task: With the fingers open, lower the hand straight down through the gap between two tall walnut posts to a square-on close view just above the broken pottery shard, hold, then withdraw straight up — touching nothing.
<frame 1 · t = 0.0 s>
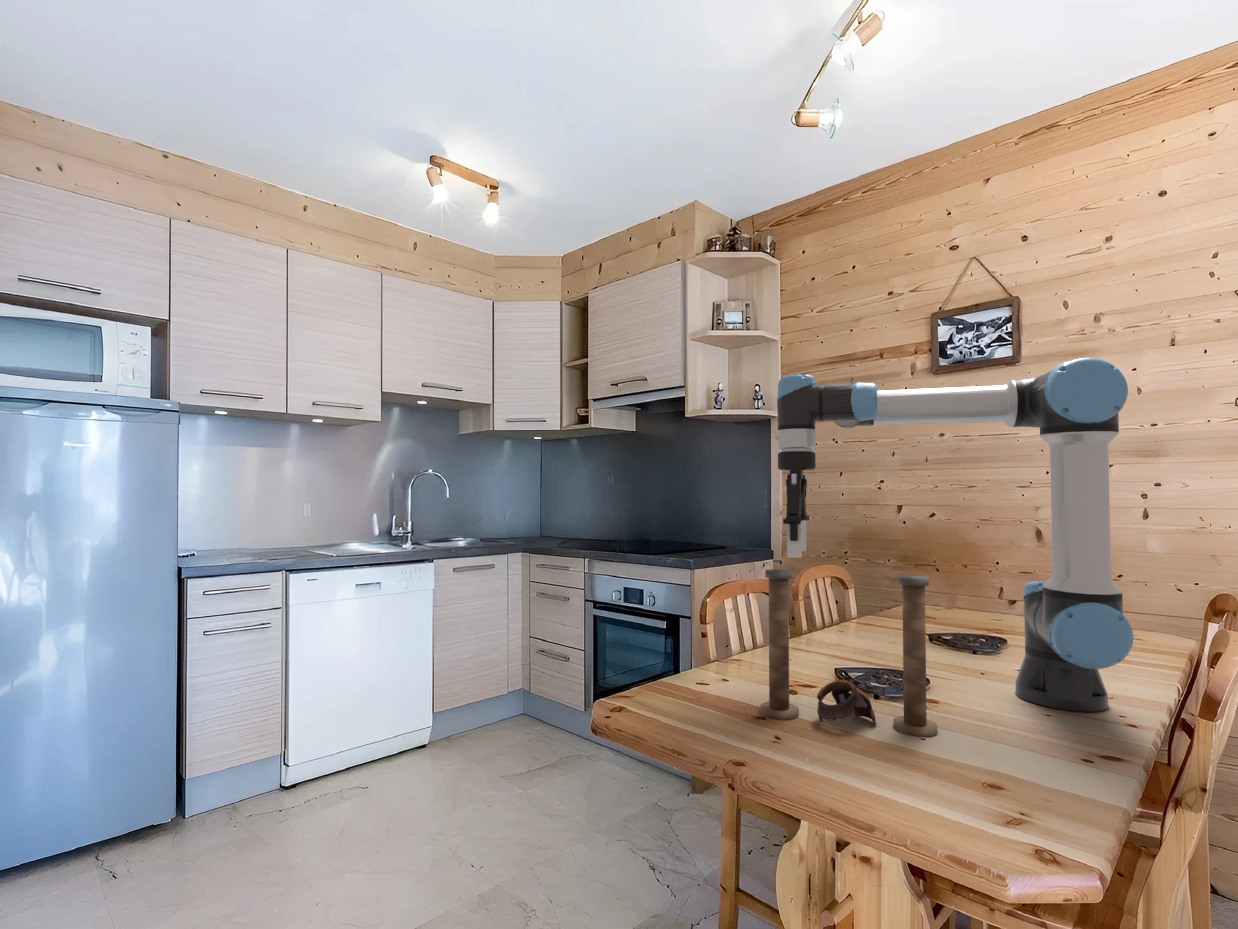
hand: (797, 554, 133), 28 cm above the table, fingers open, 13 cm apart
broken pottery shard: (845, 722, 116), on the table
post 1: (779, 712, 120), on the table
post 2: (915, 729, 112), on the table
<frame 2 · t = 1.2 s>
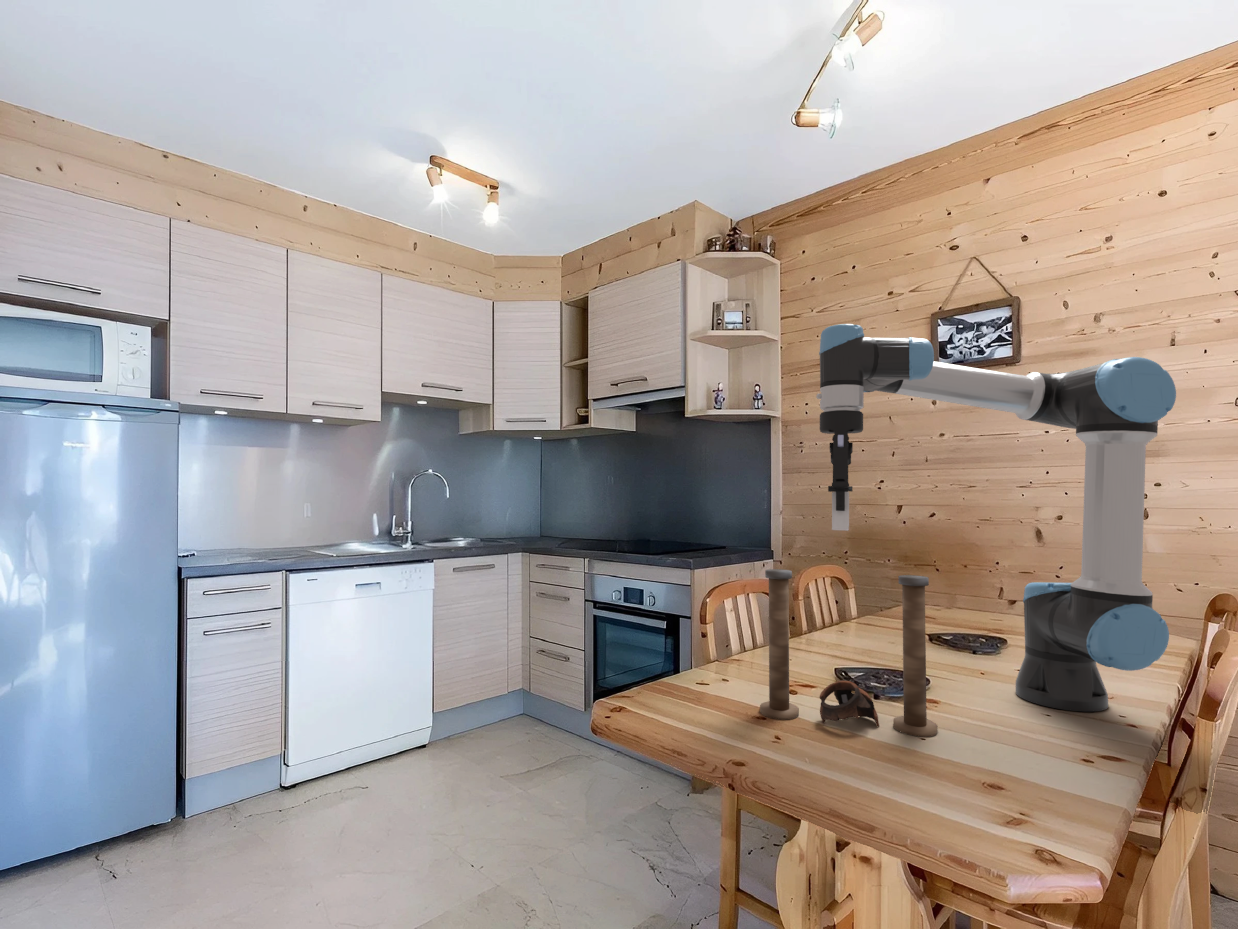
hand: (840, 528, 117), 34 cm above the table, fingers open, 13 cm apart
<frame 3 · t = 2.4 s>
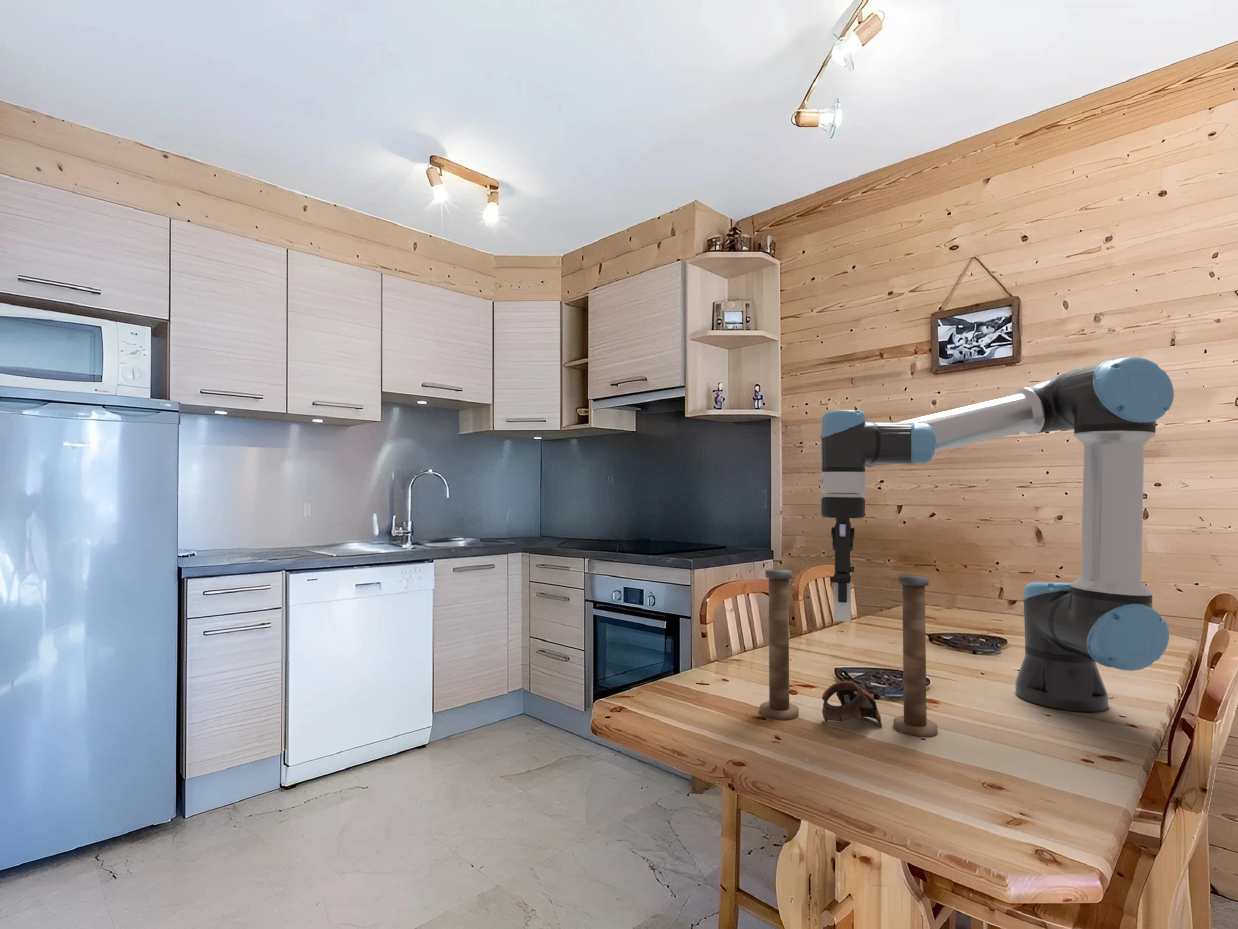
hand: (842, 614, 117), 19 cm above the table, fingers open, 13 cm apart
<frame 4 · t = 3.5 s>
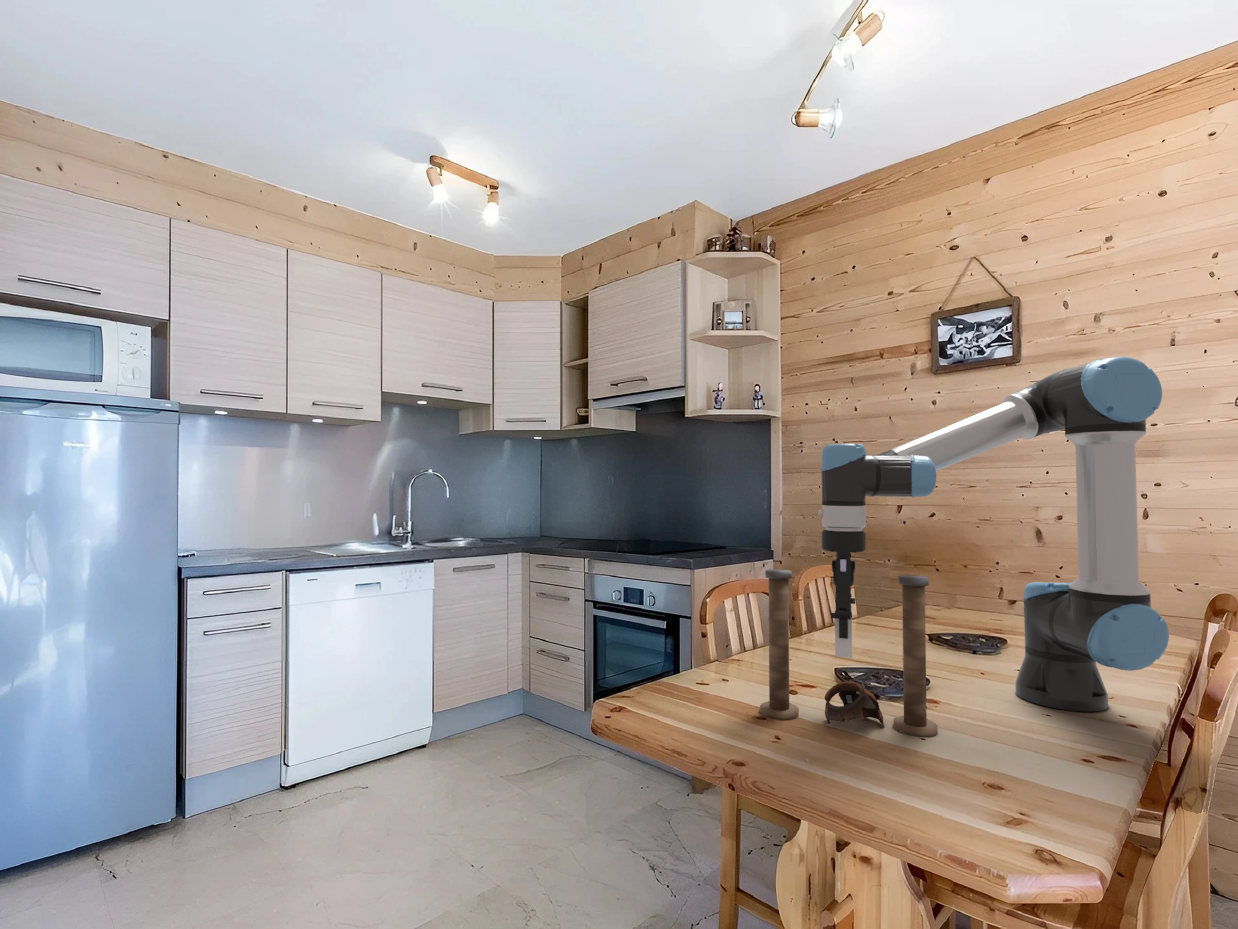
hand: (843, 647, 116), 13 cm above the table, fingers open, 13 cm apart
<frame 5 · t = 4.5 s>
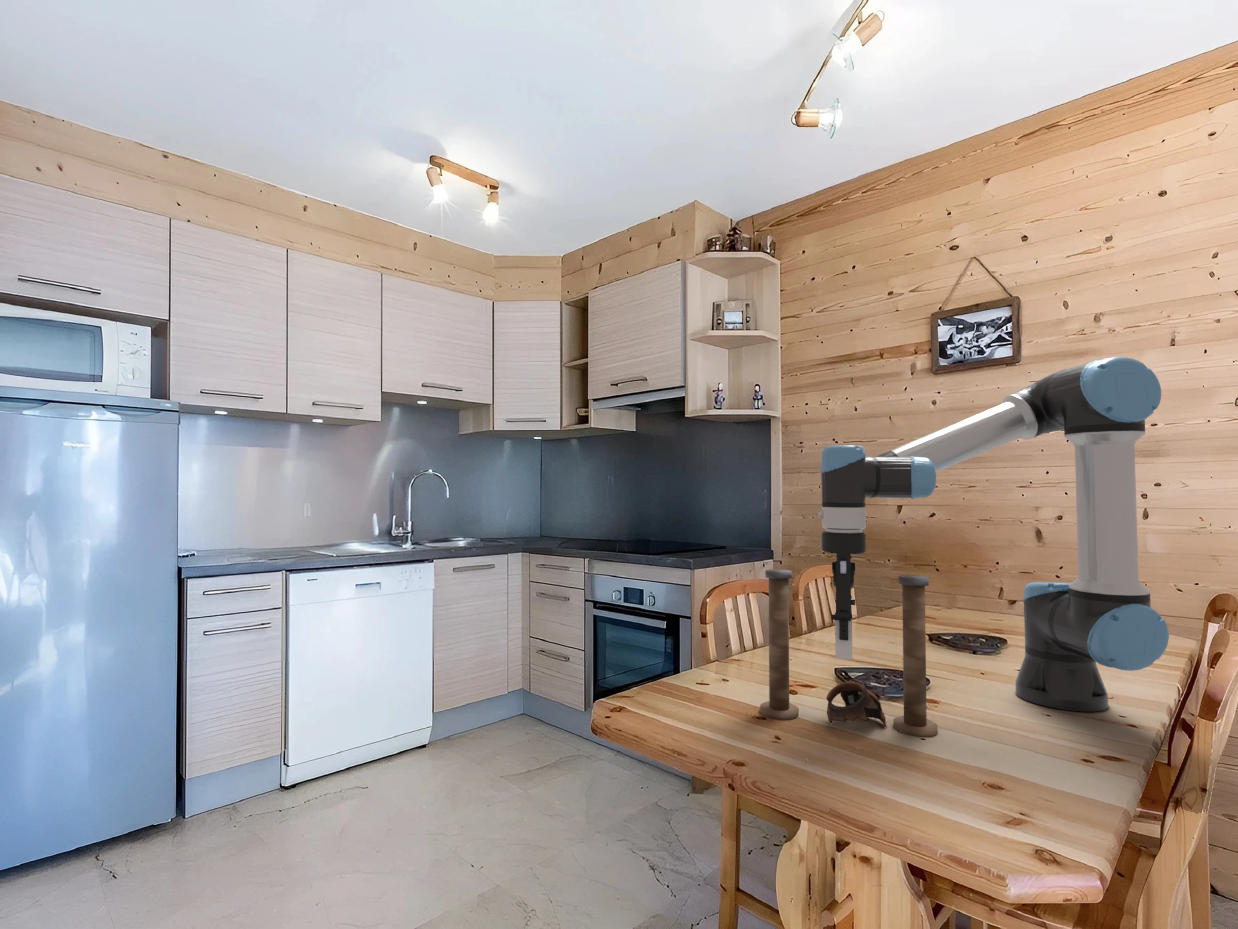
hand: (844, 649, 116), 13 cm above the table, fingers open, 13 cm apart
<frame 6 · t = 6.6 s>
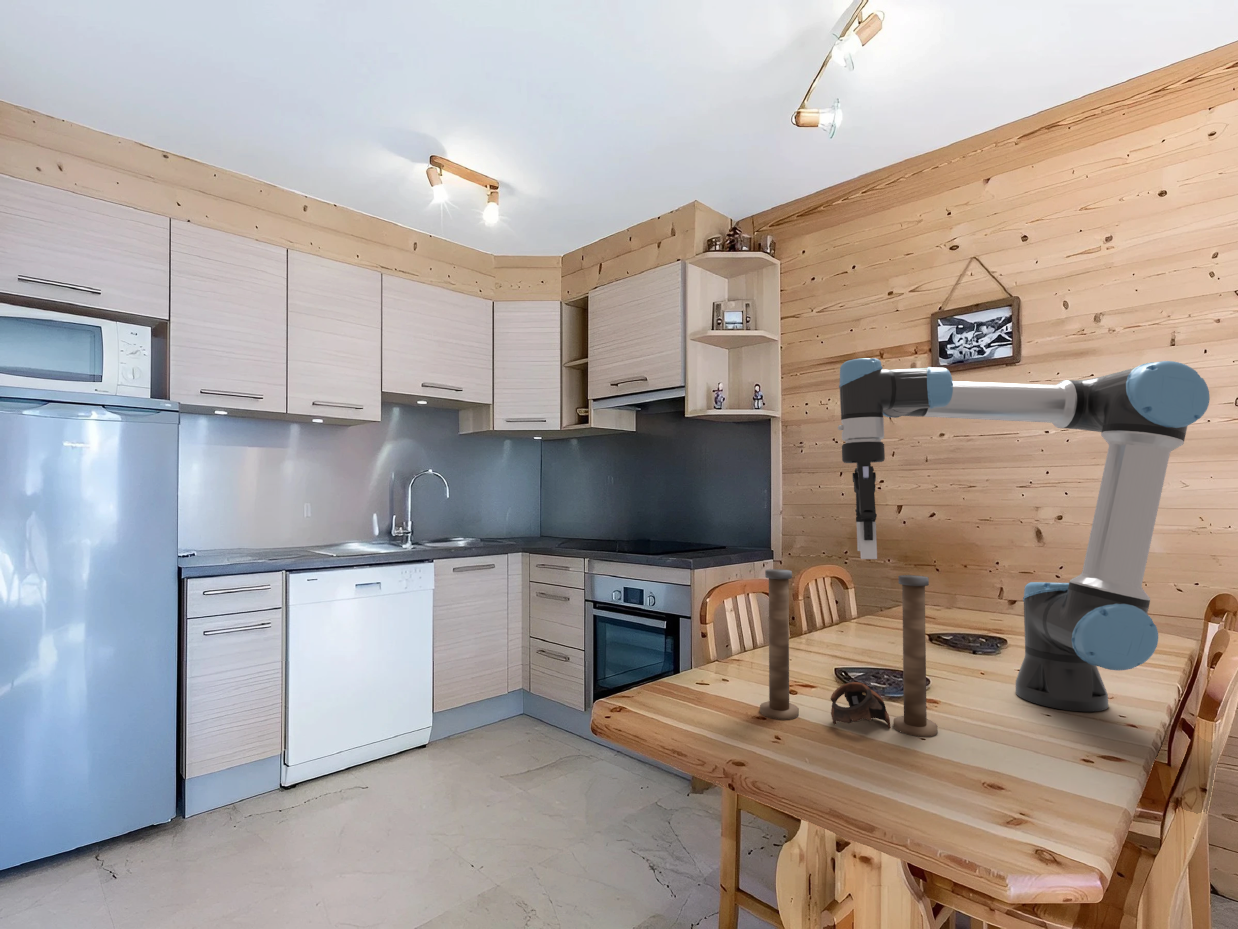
hand: (866, 555, 121), 29 cm above the table, fingers open, 13 cm apart
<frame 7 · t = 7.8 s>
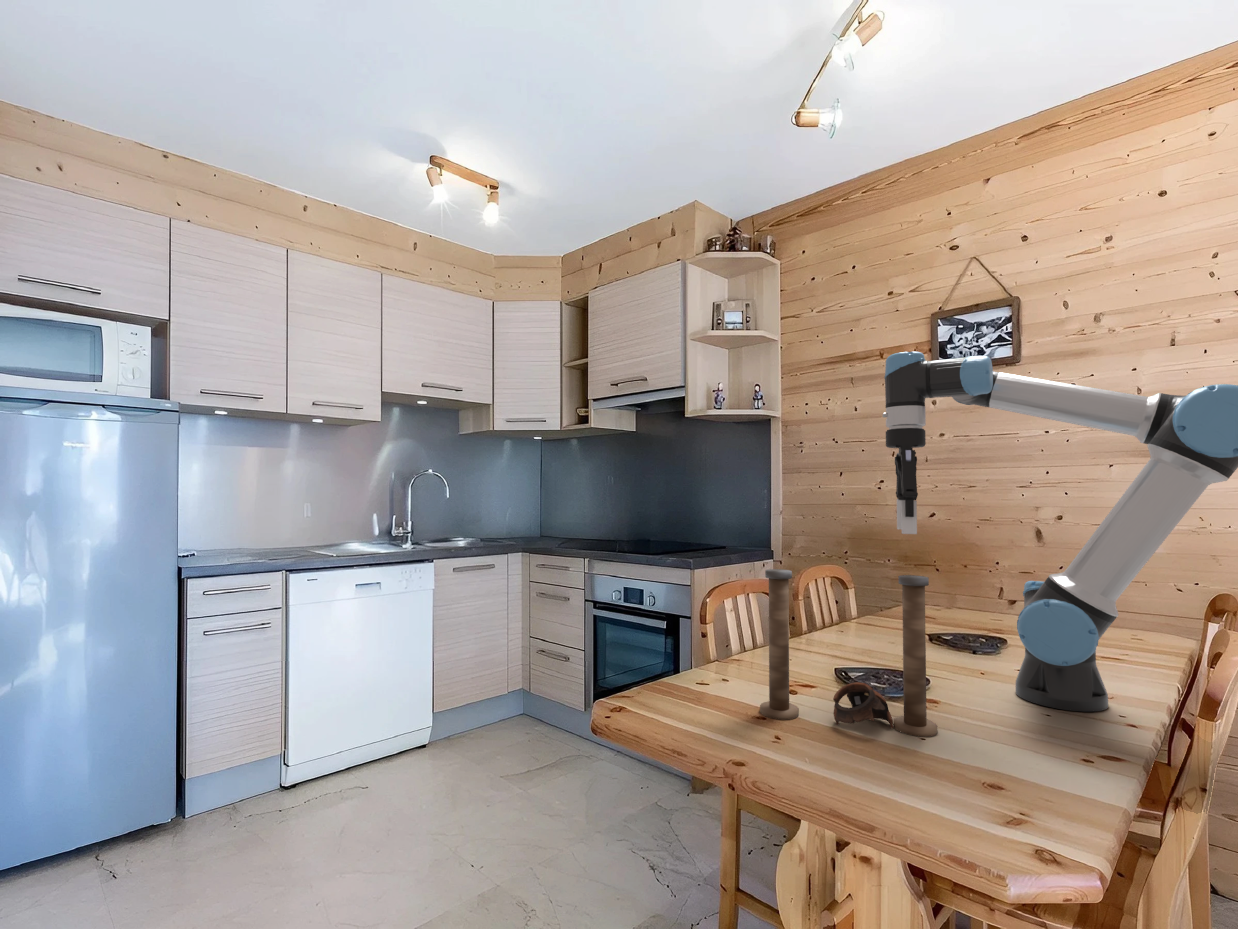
hand: (906, 531, 133), 33 cm above the table, fingers open, 13 cm apart
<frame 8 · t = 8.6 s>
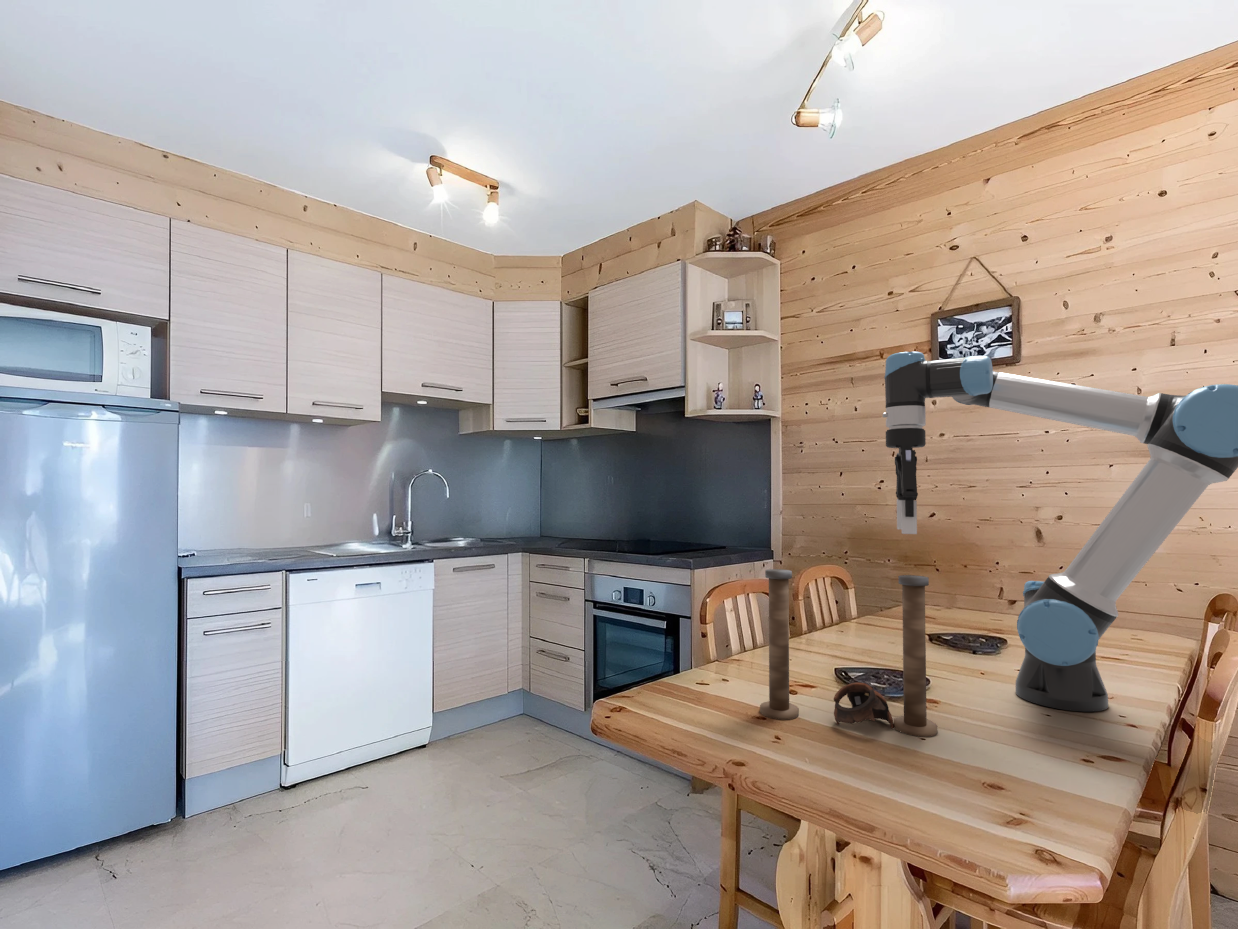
hand: (906, 531, 133), 33 cm above the table, fingers open, 13 cm apart
at the end: broken pottery shard inside the target area (2.9 cm from its centre), on the table; broken pottery shard tilted 1°; the gripper is holding nothing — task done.
